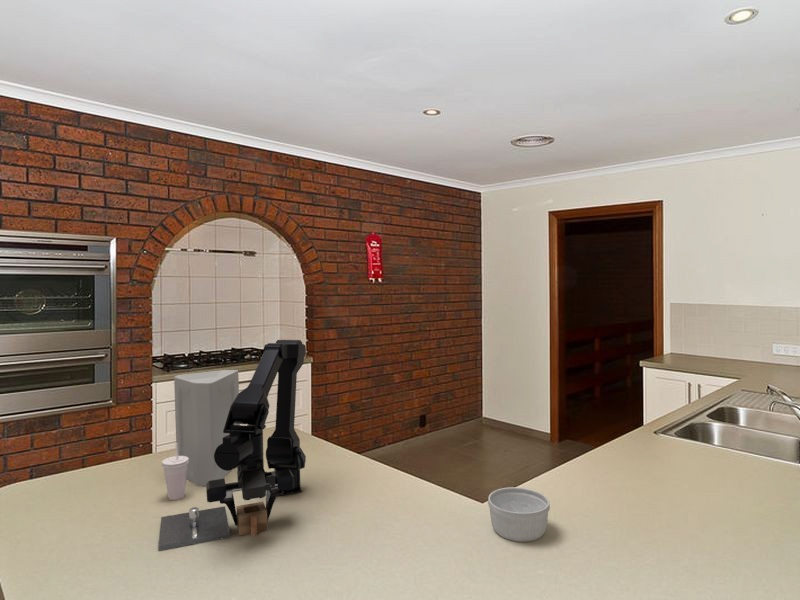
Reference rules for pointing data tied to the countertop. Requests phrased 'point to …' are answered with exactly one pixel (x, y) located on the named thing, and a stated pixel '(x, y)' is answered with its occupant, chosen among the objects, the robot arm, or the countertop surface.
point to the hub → (193, 527)
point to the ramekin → (518, 513)
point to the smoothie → (175, 475)
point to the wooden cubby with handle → (251, 518)
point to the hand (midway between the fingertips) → (251, 522)
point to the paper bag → (203, 420)
